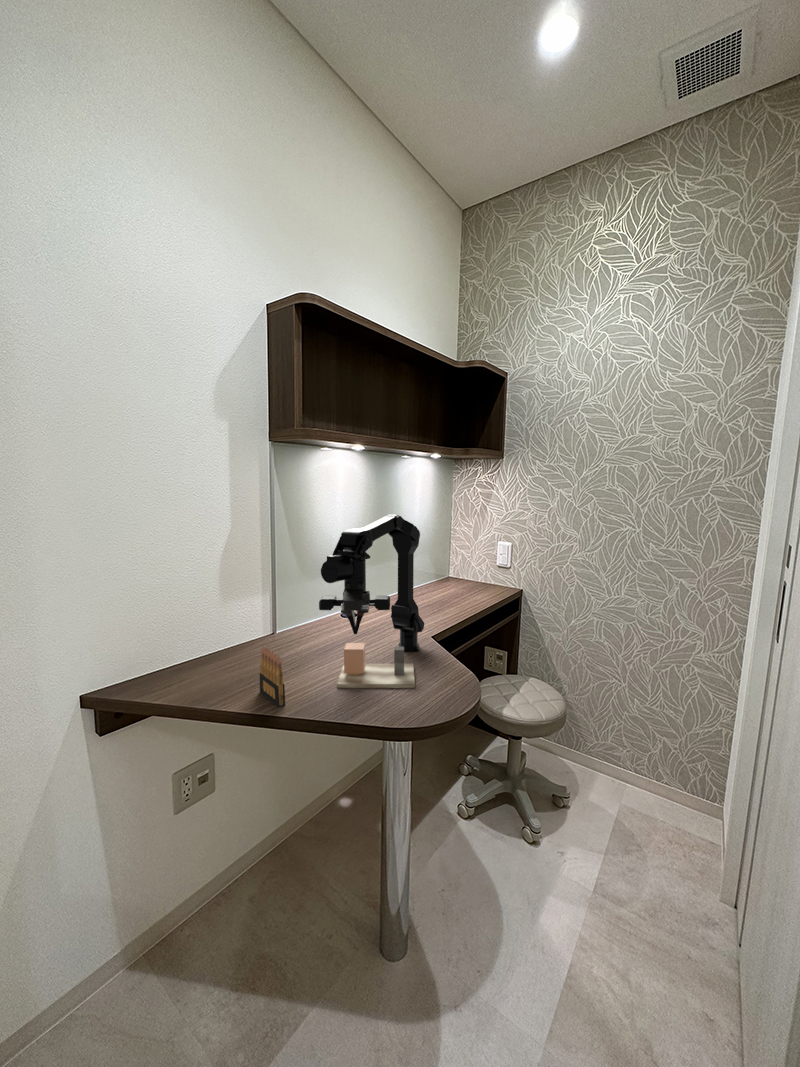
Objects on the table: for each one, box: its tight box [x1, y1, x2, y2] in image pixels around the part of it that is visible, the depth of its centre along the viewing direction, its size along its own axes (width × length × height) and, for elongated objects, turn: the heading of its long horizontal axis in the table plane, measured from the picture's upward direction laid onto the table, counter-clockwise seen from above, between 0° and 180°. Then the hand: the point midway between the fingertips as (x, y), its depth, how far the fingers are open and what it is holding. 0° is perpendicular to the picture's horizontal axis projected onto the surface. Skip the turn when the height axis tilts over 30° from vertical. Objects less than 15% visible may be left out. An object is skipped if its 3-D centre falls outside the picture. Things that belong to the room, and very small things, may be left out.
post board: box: [336, 646, 416, 689], centre depth 124 cm, size 14×20×8 cm
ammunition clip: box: [259, 645, 286, 708], centre depth 111 cm, size 11×2×12 cm, turn 40°
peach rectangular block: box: [343, 642, 366, 674], centre depth 124 cm, size 5×5×7 cm
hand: (355, 633), depth 124 cm, fingers closed
